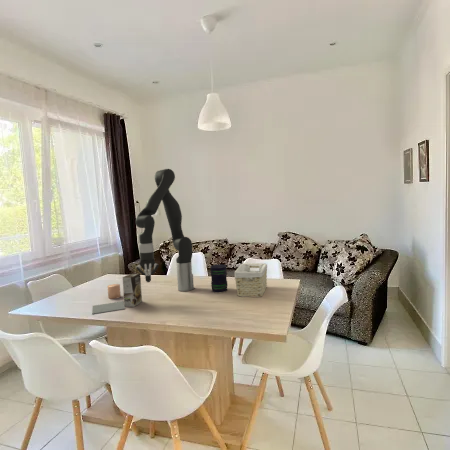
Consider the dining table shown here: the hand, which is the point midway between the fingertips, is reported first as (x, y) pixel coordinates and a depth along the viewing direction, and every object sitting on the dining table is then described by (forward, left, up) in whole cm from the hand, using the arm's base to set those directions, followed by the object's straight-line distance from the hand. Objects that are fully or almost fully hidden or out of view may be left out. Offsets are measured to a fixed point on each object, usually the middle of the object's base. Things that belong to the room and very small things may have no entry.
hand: (148, 281), depth 182 cm
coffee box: (+9, 0, -11) cm, 14 cm away
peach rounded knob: (+18, -20, -11) cm, 29 cm away
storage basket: (-58, +12, -11) cm, 60 cm away
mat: (+22, 0, -11) cm, 24 cm away
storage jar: (-42, -1, -11) cm, 44 cm away
